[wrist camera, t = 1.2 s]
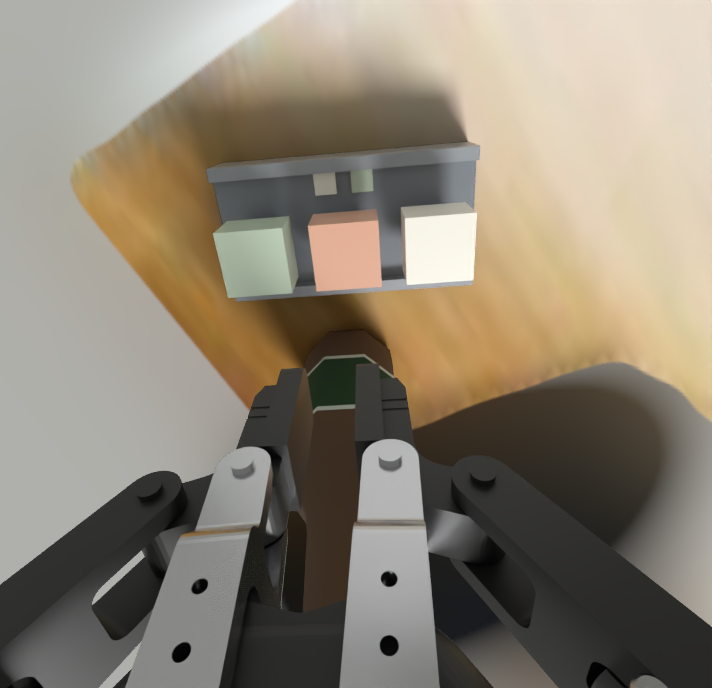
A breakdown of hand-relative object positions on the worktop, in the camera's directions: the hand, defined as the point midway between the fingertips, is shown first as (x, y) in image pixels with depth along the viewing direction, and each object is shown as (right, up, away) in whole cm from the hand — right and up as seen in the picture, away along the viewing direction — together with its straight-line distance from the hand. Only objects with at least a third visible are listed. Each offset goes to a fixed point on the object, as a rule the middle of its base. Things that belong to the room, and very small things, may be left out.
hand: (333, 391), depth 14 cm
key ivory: (+6, +8, +14) cm, 17 cm away
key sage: (-5, +8, +15) cm, 17 cm away
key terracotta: (0, +8, +14) cm, 17 cm away
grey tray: (0, +11, +18) cm, 21 cm away
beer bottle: (0, 0, +24) cm, 24 cm away
